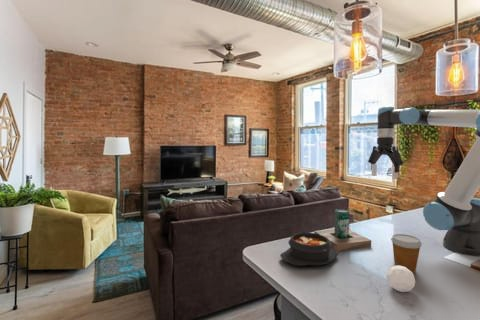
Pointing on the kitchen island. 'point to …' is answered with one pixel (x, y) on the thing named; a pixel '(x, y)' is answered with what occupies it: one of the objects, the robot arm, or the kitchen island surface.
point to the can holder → (345, 240)
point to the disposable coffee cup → (406, 250)
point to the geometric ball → (400, 278)
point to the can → (341, 224)
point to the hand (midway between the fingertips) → (384, 177)
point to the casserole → (309, 250)
